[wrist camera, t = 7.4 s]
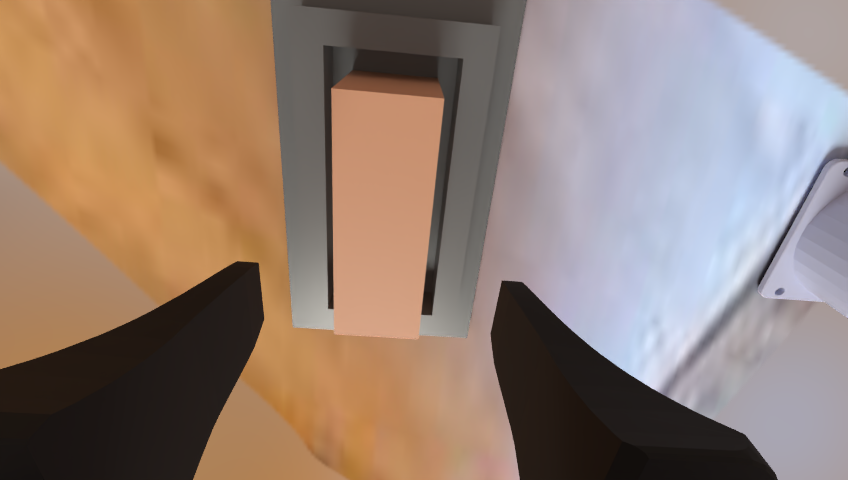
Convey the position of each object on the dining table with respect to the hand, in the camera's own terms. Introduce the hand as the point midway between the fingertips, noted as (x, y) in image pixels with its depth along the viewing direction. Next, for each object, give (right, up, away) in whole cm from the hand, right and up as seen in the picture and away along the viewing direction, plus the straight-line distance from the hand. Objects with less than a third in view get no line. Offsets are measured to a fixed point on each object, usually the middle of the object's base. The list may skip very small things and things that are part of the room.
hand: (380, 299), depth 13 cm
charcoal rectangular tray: (0, +5, +8) cm, 9 cm away
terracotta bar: (0, +4, +8) cm, 9 cm away
